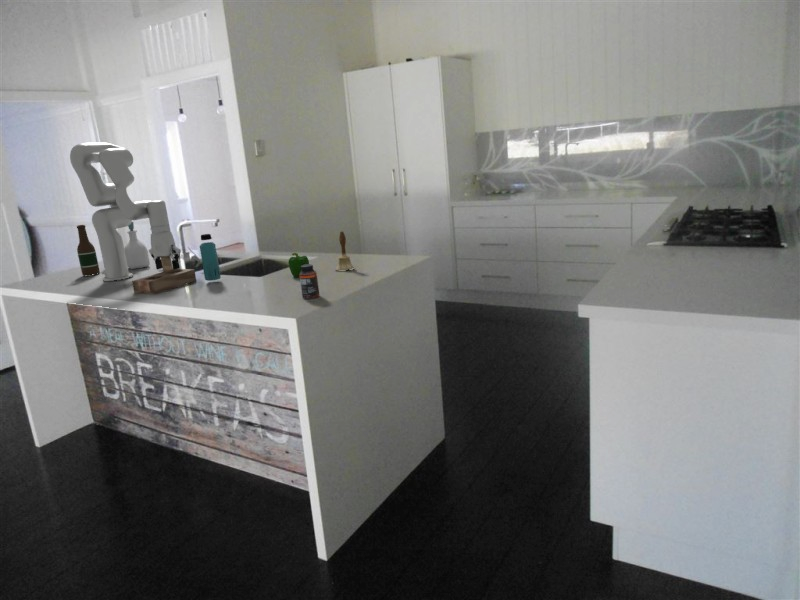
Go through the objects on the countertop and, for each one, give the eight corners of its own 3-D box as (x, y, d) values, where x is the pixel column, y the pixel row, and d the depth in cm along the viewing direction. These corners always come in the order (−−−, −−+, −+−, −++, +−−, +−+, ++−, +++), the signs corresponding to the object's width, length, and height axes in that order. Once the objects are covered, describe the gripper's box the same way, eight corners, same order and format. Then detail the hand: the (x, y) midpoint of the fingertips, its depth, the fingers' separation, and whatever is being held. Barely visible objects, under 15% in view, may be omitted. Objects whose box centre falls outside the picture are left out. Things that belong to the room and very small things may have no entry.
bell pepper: (305, 272, 252) (302, 249, 250) (313, 275, 246) (310, 251, 243) (286, 276, 248) (283, 252, 246) (294, 279, 241) (291, 254, 239)
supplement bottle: (314, 294, 213) (310, 262, 211) (322, 296, 209) (319, 264, 206) (299, 297, 210) (295, 265, 207) (307, 300, 205) (303, 267, 202)
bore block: (134, 293, 240) (131, 280, 239) (174, 280, 260) (172, 268, 258) (156, 293, 235) (154, 281, 234) (196, 280, 255) (194, 269, 253)
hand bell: (356, 266, 256) (352, 229, 252) (354, 270, 248) (350, 232, 244) (336, 268, 257) (332, 230, 253) (334, 272, 249) (329, 233, 245)
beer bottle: (89, 276, 286) (78, 226, 280) (78, 276, 289) (67, 226, 283) (103, 273, 292) (93, 223, 286) (93, 272, 296) (82, 224, 290)
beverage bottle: (217, 284, 245) (209, 235, 240) (202, 284, 246) (194, 235, 241) (224, 280, 251) (217, 232, 246) (210, 280, 252) (202, 233, 247)
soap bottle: (146, 264, 307) (138, 219, 301) (151, 266, 299) (142, 221, 293) (126, 268, 301) (117, 222, 296) (130, 270, 294) (121, 223, 288)
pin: (162, 280, 262) (157, 252, 260) (169, 278, 266) (164, 251, 263) (169, 280, 261) (164, 252, 258) (176, 278, 264) (171, 251, 261)
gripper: (139, 231, 258) (146, 270, 263) (169, 230, 251) (176, 270, 255) (152, 228, 265) (159, 267, 269) (182, 227, 258) (189, 267, 262)
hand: (168, 268), depth 262 cm, fingers open, 9 cm apart
